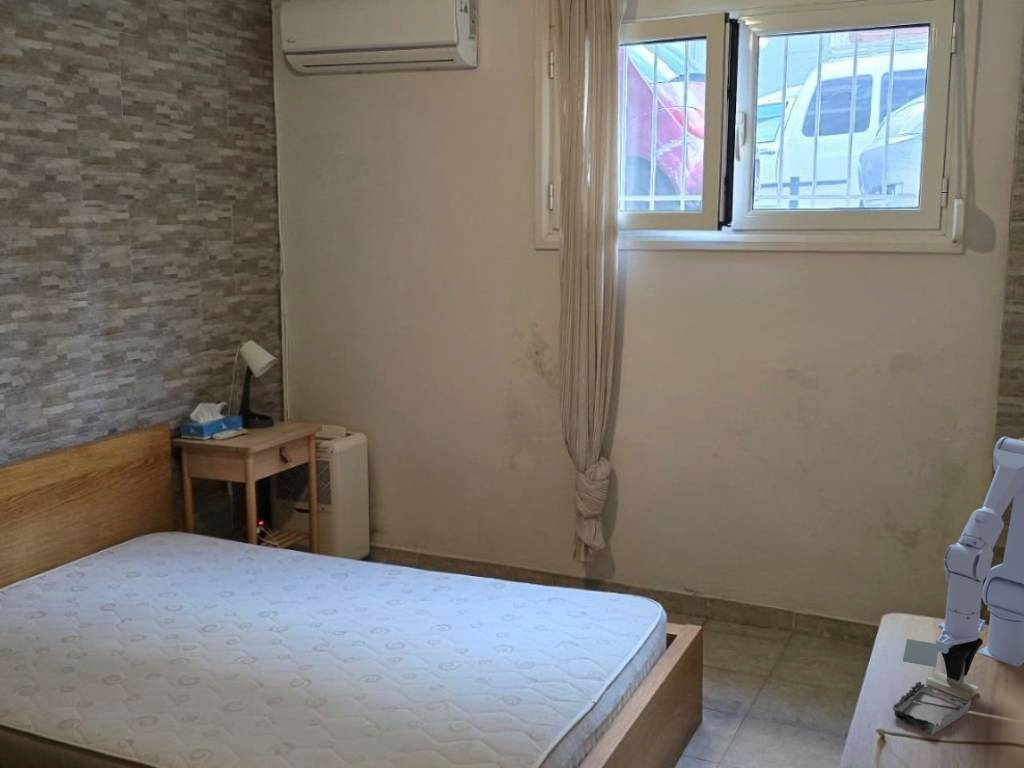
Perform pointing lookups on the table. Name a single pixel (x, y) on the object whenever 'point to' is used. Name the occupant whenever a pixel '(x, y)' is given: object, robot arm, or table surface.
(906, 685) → the table surface
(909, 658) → the rest mat
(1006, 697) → the table surface
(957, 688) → the scraper
